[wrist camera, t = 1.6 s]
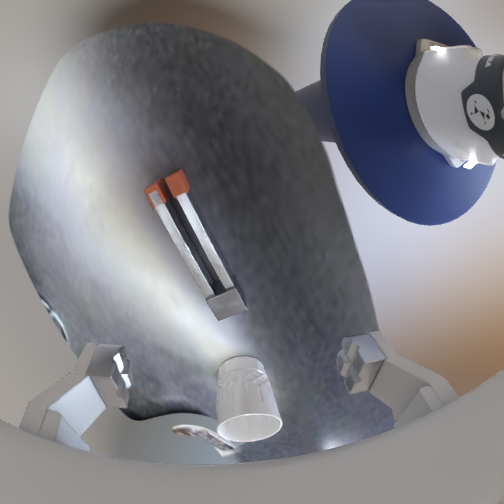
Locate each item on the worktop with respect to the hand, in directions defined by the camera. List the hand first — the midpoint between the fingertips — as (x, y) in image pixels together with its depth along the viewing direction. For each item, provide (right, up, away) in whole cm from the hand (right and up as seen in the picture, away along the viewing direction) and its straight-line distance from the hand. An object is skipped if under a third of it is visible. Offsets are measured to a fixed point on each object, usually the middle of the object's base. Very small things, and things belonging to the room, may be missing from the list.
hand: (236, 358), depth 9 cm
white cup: (-1, -13, +27) cm, 30 cm away
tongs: (-5, +5, +18) cm, 19 cm away
